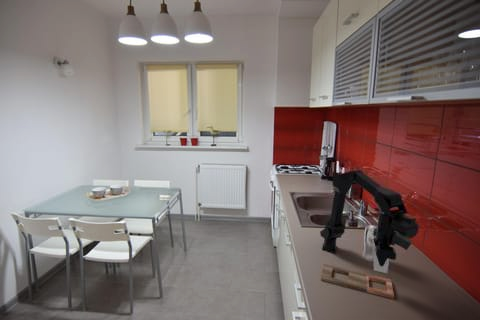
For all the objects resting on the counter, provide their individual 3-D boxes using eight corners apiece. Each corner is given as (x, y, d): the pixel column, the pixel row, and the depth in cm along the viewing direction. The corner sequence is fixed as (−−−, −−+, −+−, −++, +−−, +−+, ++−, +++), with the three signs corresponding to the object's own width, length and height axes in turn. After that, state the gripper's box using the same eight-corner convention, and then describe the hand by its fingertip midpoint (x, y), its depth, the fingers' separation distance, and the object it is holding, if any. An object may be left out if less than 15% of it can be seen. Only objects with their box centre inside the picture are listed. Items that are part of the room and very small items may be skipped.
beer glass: (358, 257, 125) (362, 227, 121) (365, 252, 129) (369, 223, 126) (373, 264, 119) (378, 233, 116) (380, 258, 124) (384, 228, 121)
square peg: (373, 263, 106) (375, 245, 104) (385, 266, 104) (388, 248, 102) (373, 270, 102) (376, 251, 100) (387, 273, 100) (390, 254, 98)
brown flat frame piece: (323, 266, 117) (323, 264, 117) (390, 282, 107) (391, 279, 107) (320, 279, 108) (321, 277, 108) (393, 298, 98) (394, 296, 98)
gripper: (416, 241, 88) (409, 283, 91) (407, 219, 104) (401, 255, 108) (378, 234, 92) (373, 274, 95) (375, 214, 109) (370, 248, 112)
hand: (380, 262), depth 102 cm, fingers closed on square peg, 4 cm apart
